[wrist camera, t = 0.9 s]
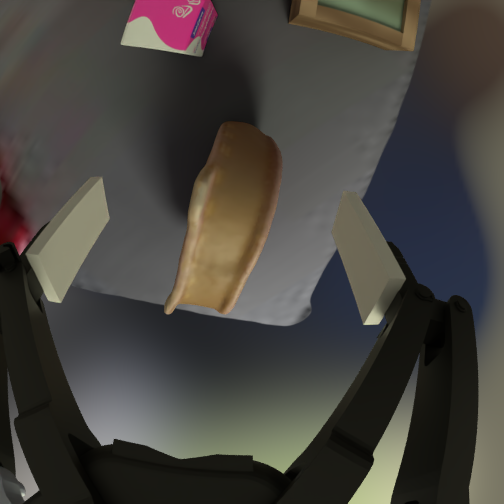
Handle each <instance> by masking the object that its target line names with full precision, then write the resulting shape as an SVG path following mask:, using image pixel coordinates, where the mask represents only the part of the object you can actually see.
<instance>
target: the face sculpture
mask: <svg viewBox="0 0 504 504" xmlns="http://www.w3.org/2000/svg"><path fill="white" fill-rule="evenodd" d="M281 178H282V156H281V152H280V150H279V148H278V146H277V144H276V143H275V141H274V140H273V139H272V138H271V137H269V136H266V135H265V134H263V133H262V132H261V131H260V130H259V129H257V128H256V127H254V126H253V125H251V124H248V123H244V122H236V121H227V122H224V123H223V124H222V125H221V126H220V128H219V130H218V133H217V136H216V139H215V141H214V145H213V148H212V150H211V153H210V155H209V157H208V160H207V163H206V165H205V166H204V168H203V169H202V170H201V171H200V173H199V175H198V176H197V178H196V181H195V183H194V187H193V191H192V195H191V200H190V205H189V210H188V224H187V231H186V235H185V238H184V243H183V247H182V251H181V255H180V258H179V265H178V271H177V275H176V279H175V284H174V287H173V290H172V292H171V294H170V295H169V296H168V298H167V300H166V302H165V313H166V314H170V313H172V312H173V310H174V308H175V307H176V306H177V305H178V304H192V305H199V306H204V307H209V308H213V309H215V310H217V311H218V312H219V313H221V314H227V313H229V312H230V311H231V310H232V309H233V307H234V306H235V304H236V302H237V300H238V297H239V295H240V293H241V291H242V289H243V287H244V285H245V283H246V281H247V278H248V276H249V274H250V273H251V271H252V269H253V268H254V266H255V264H256V262H257V260H258V258H259V256H260V253H261V251H262V249H263V246H264V243H265V241H266V239H267V236H268V233H269V230H270V227H271V223H272V220H273V217H274V213H275V210H276V206H277V201H278V195H279V188H280V184H281Z"/></svg>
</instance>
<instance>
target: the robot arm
mask: <svg viewBox="0 0 504 504" xmlns="http://www.w3.org/2000/svg"><path fill="white" fill-rule="evenodd" d="M109 219H110V218H109V213H108V208H107V203H106V198H105V192H104V186H103V180H102V177H90V178H89V179H88V180H87V181H86V182H85V184H84V185H83V186H82V187H81V188H80V189H79V190H78V191H77V192H76V193H75V194H74V195H73V196H72V197H71V198H70V200H69V201H68V202H67V203H66V204H65V205H64V206H63V207H62V209H61V210H60V211H59V212H58V213H57V214H56V215H55V217H54V218H53V219H52V220H51V221H50V222H48V223H47V224H45V225H44V226H43V227H42V228H41V229H40V230H39V231H38V232H37V234H36V235H35V236H34V238H33V239H32V241H30V243H29V244H28V245H27V247H26V248H25V249H24V251H23V252H22V253H21V255H20V256H19V254H18V251H17V249H16V247H15V245H14V243H12V242H7V243H4V244H2V245H0V504H348V502H349V501H350V500H351V498H352V497H353V495H354V494H355V492H356V491H357V489H358V488H359V486H360V485H361V483H362V482H363V480H364V479H365V477H366V476H367V474H368V472H369V471H370V469H371V467H372V465H373V462H374V458H373V452H374V450H375V448H376V446H377V445H378V443H379V441H380V439H381V437H382V436H383V434H384V432H385V430H386V428H387V426H388V424H389V422H390V420H391V418H392V416H393V414H394V412H395V410H396V408H397V406H398V404H399V401H400V399H401V397H402V395H403V393H404V390H405V388H406V386H407V383H408V381H409V379H410V376H411V374H412V371H413V368H414V366H415V363H416V361H417V358H418V355H419V353H420V357H419V368H418V378H417V386H416V393H415V399H414V406H413V412H412V417H411V423H410V428H409V432H408V437H407V442H406V446H405V450H404V454H403V458H402V462H401V465H400V469H399V473H398V476H397V479H396V483H395V486H394V490H393V494H392V498H391V504H469V484H470V479H471V473H472V466H473V461H474V453H475V445H476V435H477V421H478V362H477V348H476V338H475V328H474V321H473V314H472V309H471V306H470V305H469V303H468V302H467V301H466V300H465V299H464V298H462V297H461V296H458V295H453V296H451V297H450V299H449V300H448V302H444V301H441V300H437V299H435V297H434V294H433V293H432V291H431V290H430V289H429V288H427V287H426V286H424V285H422V284H418V283H417V281H416V279H415V277H414V275H413V273H412V271H411V270H410V268H409V266H408V264H406V263H407V262H406V261H405V259H404V258H403V255H402V254H401V252H400V250H399V249H398V248H397V247H396V246H395V245H394V244H393V243H392V242H387V241H385V239H384V237H383V235H382V234H381V232H380V231H379V229H378V227H377V225H376V224H375V222H374V220H373V219H372V217H371V215H370V214H369V212H368V211H367V209H366V207H365V206H364V204H363V202H362V201H361V199H360V198H359V196H358V195H357V193H356V192H349V191H343V194H342V198H341V201H340V205H339V208H338V212H337V215H336V219H335V222H334V226H333V229H332V235H333V238H334V240H335V243H336V246H337V248H338V251H339V254H340V256H341V259H342V262H343V265H344V267H345V270H346V273H347V276H348V279H349V282H350V284H351V287H352V290H353V293H354V296H355V299H356V303H357V306H358V309H359V312H360V315H361V318H362V321H363V324H364V325H371V324H379V323H380V321H381V319H382V318H383V317H384V315H385V318H386V321H387V324H386V325H385V326H384V328H383V329H382V331H381V332H380V334H379V335H378V337H377V338H378V340H377V341H376V343H375V345H374V347H373V349H372V351H371V352H370V354H369V356H368V358H367V360H366V361H365V363H364V365H363V366H362V368H361V370H360V371H359V374H358V375H357V376H356V378H355V380H354V381H353V383H352V384H351V386H350V388H349V389H348V391H347V392H346V394H345V395H344V397H343V398H342V400H341V401H340V403H339V404H338V406H337V408H336V409H335V410H334V412H333V413H332V415H331V416H330V418H329V419H328V421H327V422H326V423H325V425H324V426H323V427H322V429H321V430H320V432H319V433H318V434H317V435H316V437H315V438H314V439H313V441H312V442H311V443H310V445H309V446H308V447H307V448H306V450H305V451H304V452H303V453H302V454H301V455H300V456H299V457H298V458H297V459H296V460H295V461H294V462H293V463H292V465H291V466H290V467H289V468H288V469H287V470H286V471H285V473H284V474H283V473H281V472H280V471H278V470H277V469H275V468H273V467H271V466H269V465H266V464H264V463H261V462H258V461H254V460H253V456H250V455H248V456H247V455H244V456H243V455H219V454H216V455H210V456H204V457H197V458H188V459H177V458H175V457H172V456H169V455H167V454H164V453H162V452H159V451H157V450H155V449H152V448H150V447H148V446H145V445H140V444H135V443H131V442H126V441H122V440H118V439H114V442H113V444H111V445H104V446H101V444H100V443H99V441H98V440H97V438H96V437H95V436H94V435H93V433H92V432H91V431H90V429H89V428H88V426H87V424H86V422H85V420H84V418H83V416H82V414H81V412H80V410H79V407H78V405H77V403H76V401H75V398H74V396H73V394H72V391H71V389H70V386H69V384H68V381H67V379H66V376H65V374H64V371H63V368H62V365H61V362H60V360H59V357H58V354H57V351H56V348H55V345H54V341H53V338H52V335H51V331H50V327H49V324H48V320H47V316H46V312H45V308H44V304H43V302H42V300H41V298H40V297H41V295H42V294H43V292H44V293H45V295H46V297H47V299H48V300H49V301H53V302H58V303H61V302H62V300H63V298H64V296H65V294H66V292H67V290H68V288H69V286H70V285H71V283H72V281H73V279H74V277H75V275H76V273H77V272H78V270H79V268H80V266H81V265H82V263H83V261H84V259H85V258H86V256H87V254H88V253H89V251H90V249H91V248H92V246H93V244H94V243H95V241H96V239H97V238H98V236H99V235H100V233H101V231H102V230H103V228H104V227H105V225H106V224H107V222H108V220H109ZM7 369H8V370H7ZM7 372H9V376H10V381H11V385H12V390H13V393H14V397H15V401H16V405H17V408H18V413H19V415H18V417H17V418H15V419H14V426H15V430H16V433H17V436H18V439H19V442H20V445H21V448H22V450H23V453H24V455H25V458H26V461H27V463H28V465H29V468H30V470H31V472H32V474H33V477H34V479H35V481H36V483H37V485H38V488H39V491H38V492H37V493H35V494H34V495H33V496H32V497H30V498H29V499H28V500H26V501H24V500H23V497H24V496H25V492H26V491H25V488H24V486H23V484H22V483H20V482H19V481H18V480H17V479H16V476H15V474H16V473H15V472H16V471H15V458H14V450H13V443H12V436H11V428H10V418H9V405H8V377H7Z"/></svg>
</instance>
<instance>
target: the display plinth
mask: <svg viewBox="0 0 504 504" xmlns="http://www.w3.org/2000/svg"><path fill="white" fill-rule="evenodd" d="M420 1H421V0H292V4H291V11H290V17H289V23H288V24H294V25H299V26H304V27H309V28H313V29H318V30H322V31H326V32H330V33H334V34H338V35H341V36H345V37H348V38H351V39H355V40H358V41H361V42H364V43H367V44H370V45H373V46H376V47H379V48H381V49H384V50H402V51H413V50H414V45H415V39H416V32H417V25H418V18H419V10H420Z"/></svg>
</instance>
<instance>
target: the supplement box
mask: <svg viewBox="0 0 504 504" xmlns="http://www.w3.org/2000/svg"><path fill="white" fill-rule="evenodd" d="M217 17H218V14H217V12H216V10H215V8H214V6H213V4H212V2H211V0H135V3H134V5H133V8H132V10H131V13H130V16H129V19H128V22H127V25H126V28H125V31H124V34H123V37H122V40H121V45H127V46H135V47H143V48H150V49H157V50H163V51H169V52H176V53H182V54H187V55H193V56H198V57H202V56H203V52H204V49H205V46H206V43H207V40H208V38H209V35H210V33H211V30H212V28H213V26H214V23H215V21H216V19H217Z"/></svg>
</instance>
